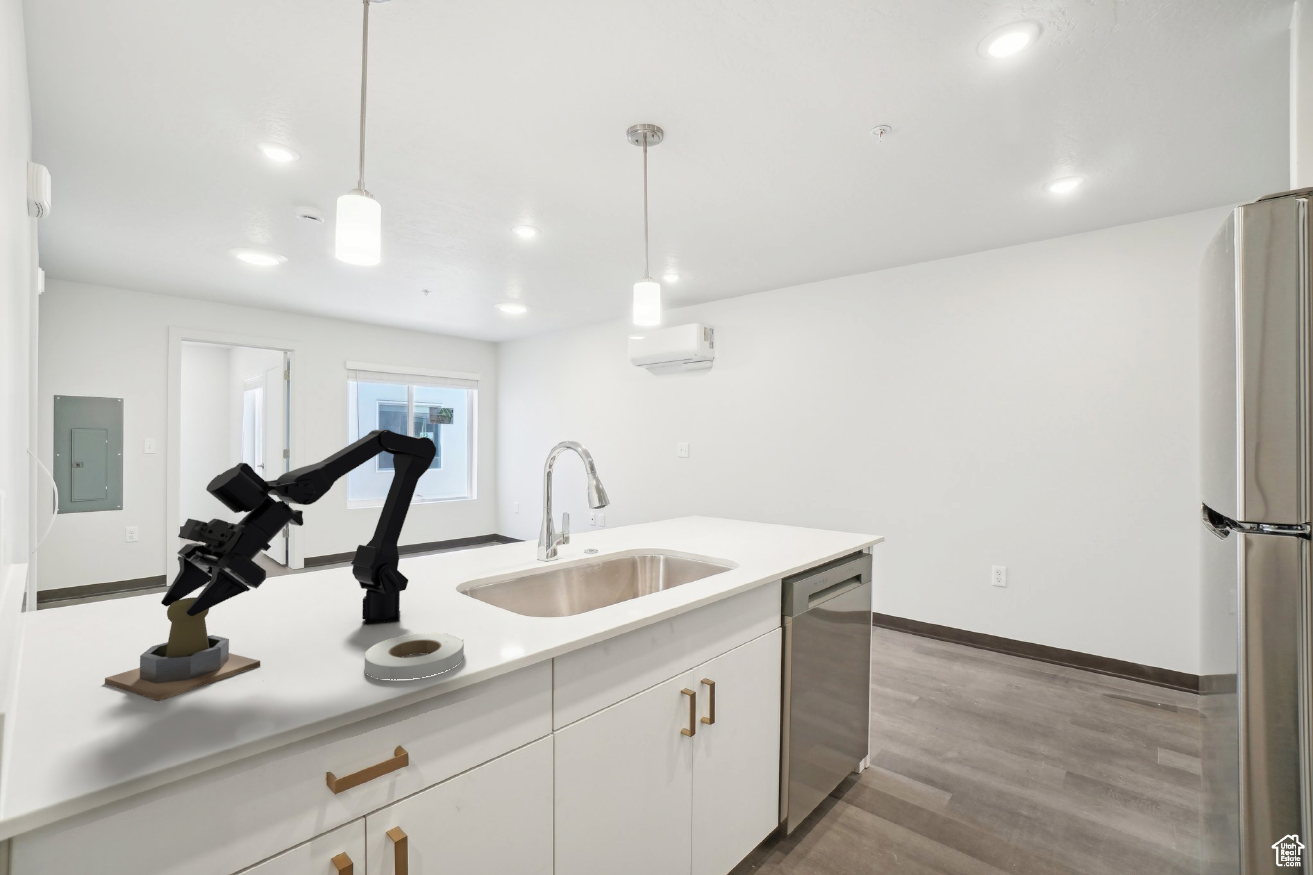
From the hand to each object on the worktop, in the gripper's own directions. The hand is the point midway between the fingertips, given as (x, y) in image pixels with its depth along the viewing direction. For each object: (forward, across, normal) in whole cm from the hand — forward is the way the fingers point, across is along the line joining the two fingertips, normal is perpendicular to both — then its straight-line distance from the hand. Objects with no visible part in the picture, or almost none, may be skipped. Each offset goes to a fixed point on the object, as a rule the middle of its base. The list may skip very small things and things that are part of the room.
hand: (175, 609), depth 89 cm
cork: (+6, 0, +8) cm, 10 cm away
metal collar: (+6, 0, +8) cm, 11 cm away
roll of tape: (-9, +26, +25) cm, 37 cm away
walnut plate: (+6, 0, +8) cm, 11 cm away
